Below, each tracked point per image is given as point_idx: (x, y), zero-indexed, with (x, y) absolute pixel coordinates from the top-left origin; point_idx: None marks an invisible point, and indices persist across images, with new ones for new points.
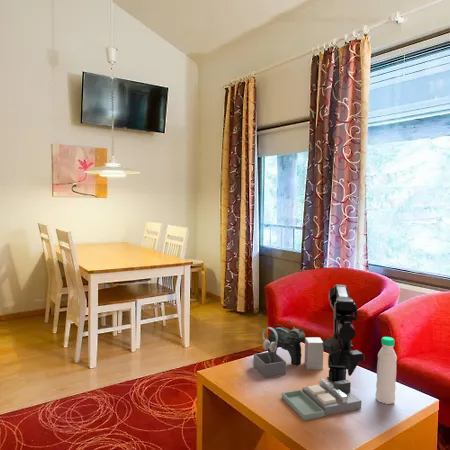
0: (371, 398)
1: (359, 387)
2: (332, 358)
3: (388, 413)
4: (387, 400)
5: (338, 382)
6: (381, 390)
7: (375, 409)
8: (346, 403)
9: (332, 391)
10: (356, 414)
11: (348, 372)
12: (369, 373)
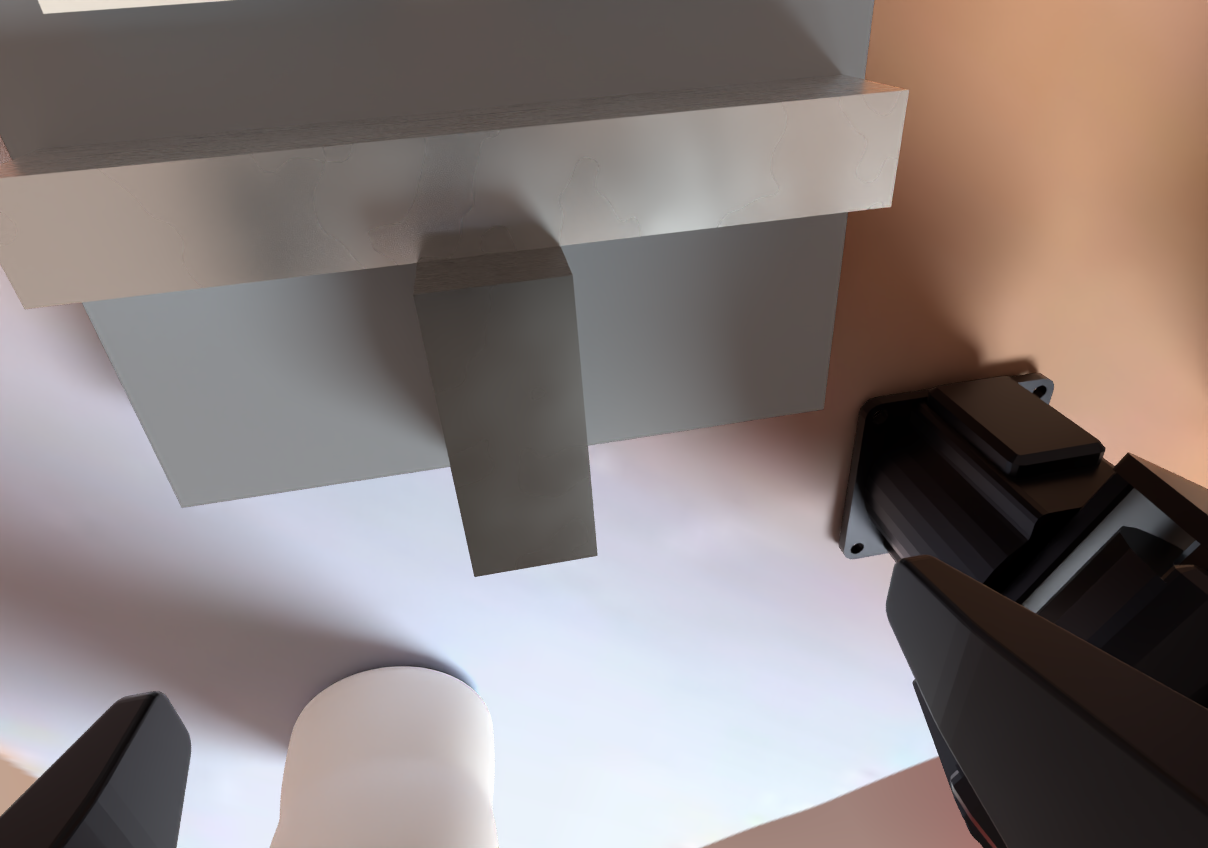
0: (453, 628)
1: (705, 609)
2: (1155, 699)
3: (95, 660)
4: (287, 752)
5: (516, 361)
6: (314, 815)
7: (190, 578)
8: None
9: (419, 126)
10: (17, 299)
11: (42, 798)
12: (890, 761)
